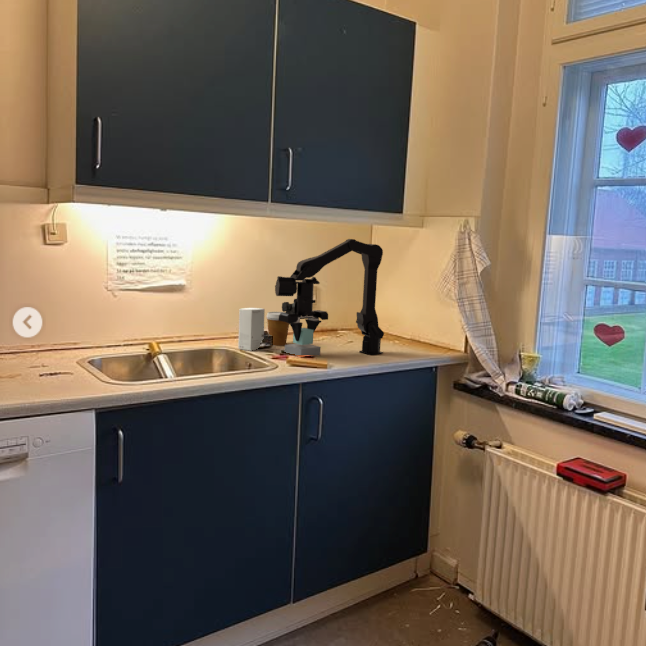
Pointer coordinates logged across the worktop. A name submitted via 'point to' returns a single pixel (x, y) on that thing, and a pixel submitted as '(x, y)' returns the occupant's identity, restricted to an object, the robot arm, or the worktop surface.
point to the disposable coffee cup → (277, 328)
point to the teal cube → (304, 337)
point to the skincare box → (251, 328)
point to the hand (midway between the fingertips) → (303, 340)
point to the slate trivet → (302, 349)
